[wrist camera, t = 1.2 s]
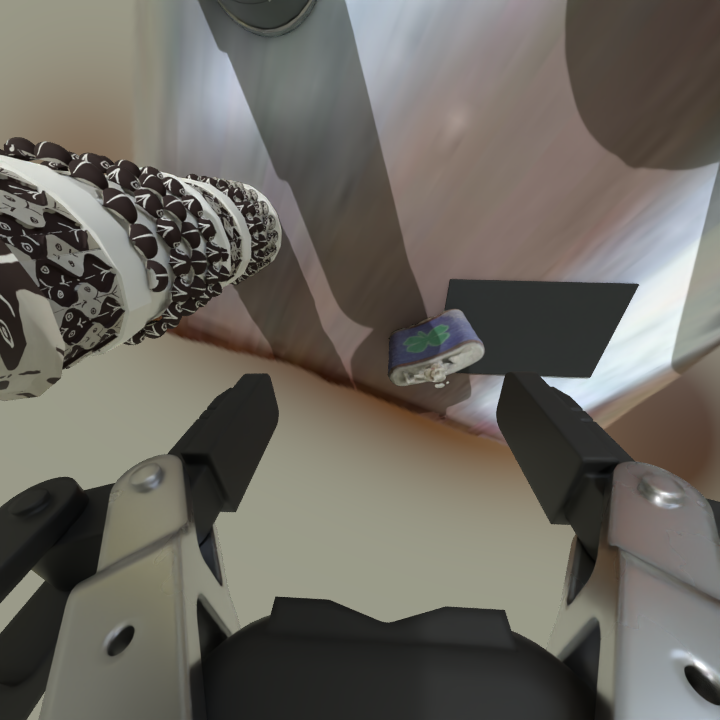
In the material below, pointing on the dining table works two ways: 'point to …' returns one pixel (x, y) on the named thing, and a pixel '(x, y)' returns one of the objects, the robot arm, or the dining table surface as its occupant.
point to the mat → (540, 323)
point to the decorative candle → (111, 255)
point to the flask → (433, 349)
